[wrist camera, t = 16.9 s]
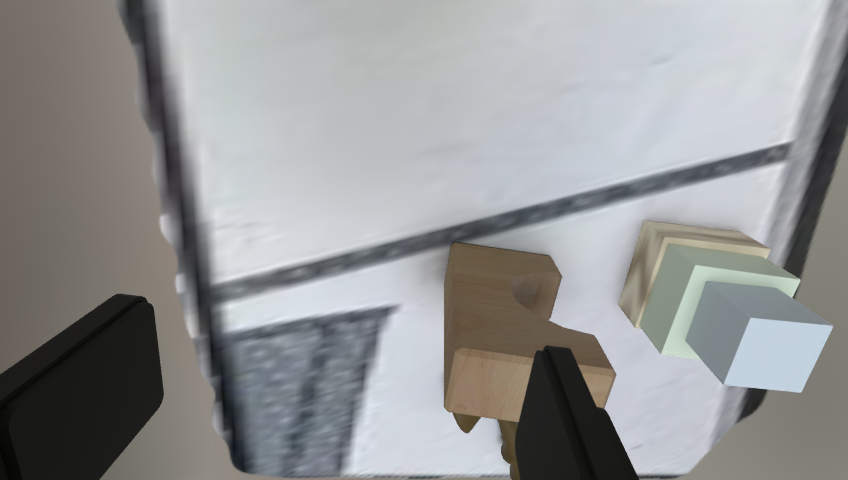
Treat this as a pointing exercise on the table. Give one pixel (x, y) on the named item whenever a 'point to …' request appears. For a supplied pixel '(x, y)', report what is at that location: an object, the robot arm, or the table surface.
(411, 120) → the table surface
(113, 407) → the robot arm
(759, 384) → the grey-blue cube
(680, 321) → the upper tower block
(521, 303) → the decorative block
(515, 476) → the kendama
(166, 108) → the table surface
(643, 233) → the lower tower block
